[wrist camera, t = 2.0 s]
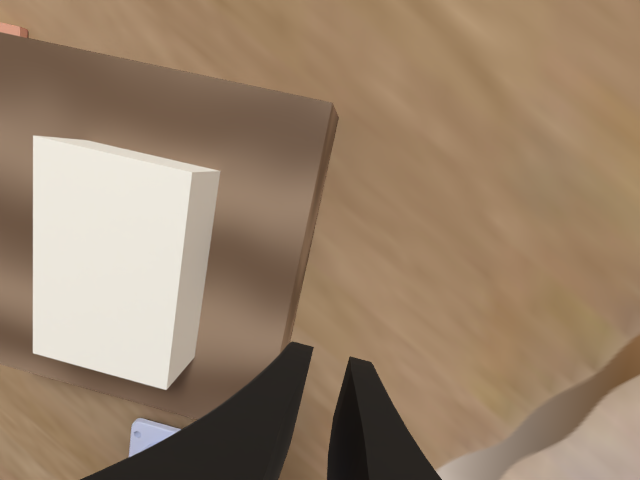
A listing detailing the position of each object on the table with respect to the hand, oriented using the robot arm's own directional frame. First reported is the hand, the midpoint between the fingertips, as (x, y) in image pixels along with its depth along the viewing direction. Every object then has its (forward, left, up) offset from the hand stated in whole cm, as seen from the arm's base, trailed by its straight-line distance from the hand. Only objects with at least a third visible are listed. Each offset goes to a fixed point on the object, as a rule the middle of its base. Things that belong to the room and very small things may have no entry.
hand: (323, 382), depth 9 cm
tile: (0, +9, -5) cm, 10 cm away
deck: (0, +10, -9) cm, 14 cm away
